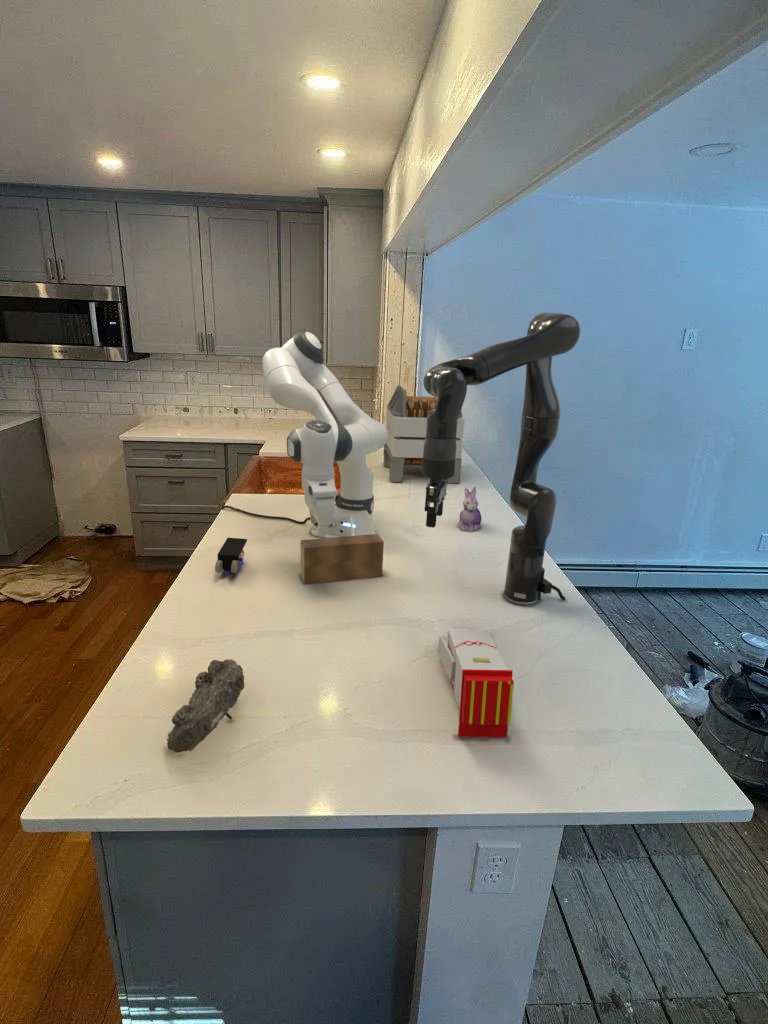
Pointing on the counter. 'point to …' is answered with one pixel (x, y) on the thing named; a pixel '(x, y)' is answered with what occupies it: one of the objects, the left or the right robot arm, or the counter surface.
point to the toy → (478, 682)
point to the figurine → (470, 512)
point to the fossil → (206, 705)
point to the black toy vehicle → (230, 556)
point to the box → (341, 558)
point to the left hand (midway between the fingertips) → (317, 528)
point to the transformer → (412, 433)
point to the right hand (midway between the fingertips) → (434, 520)
